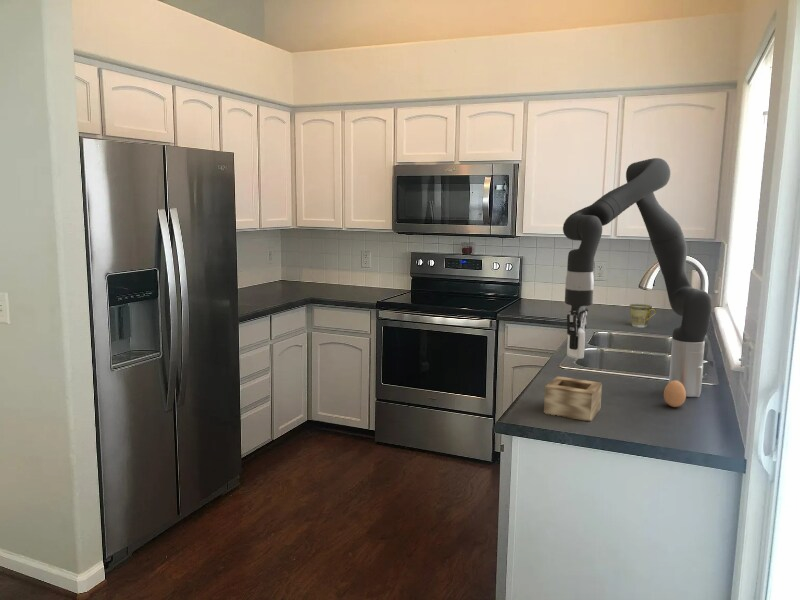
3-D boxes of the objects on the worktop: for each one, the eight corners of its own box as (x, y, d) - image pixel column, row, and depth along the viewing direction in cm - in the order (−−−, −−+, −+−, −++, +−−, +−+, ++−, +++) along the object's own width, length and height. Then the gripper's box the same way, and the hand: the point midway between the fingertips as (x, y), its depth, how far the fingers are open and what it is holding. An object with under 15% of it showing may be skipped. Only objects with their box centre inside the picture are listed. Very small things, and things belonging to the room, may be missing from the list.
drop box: (600, 409, 187) (602, 382, 186) (590, 421, 177) (591, 393, 176) (556, 402, 194) (557, 376, 192) (543, 413, 183) (545, 386, 182)
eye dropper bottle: (568, 358, 181) (570, 316, 179) (566, 354, 186) (568, 313, 184) (584, 359, 180) (586, 317, 178) (582, 355, 185) (584, 313, 183)
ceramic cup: (623, 325, 310) (625, 304, 308) (636, 323, 316) (637, 303, 314) (648, 330, 300) (649, 308, 298) (660, 327, 305) (662, 306, 304)
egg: (659, 406, 190) (661, 380, 189) (666, 402, 195) (668, 376, 193) (681, 411, 186) (683, 384, 185) (687, 406, 191) (689, 380, 190)
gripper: (586, 291, 172) (583, 354, 174) (599, 285, 184) (595, 343, 187) (558, 289, 175) (555, 350, 178) (572, 283, 188) (569, 340, 190)
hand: (576, 346), depth 182 cm, fingers closed on eye dropper bottle, 5 cm apart
